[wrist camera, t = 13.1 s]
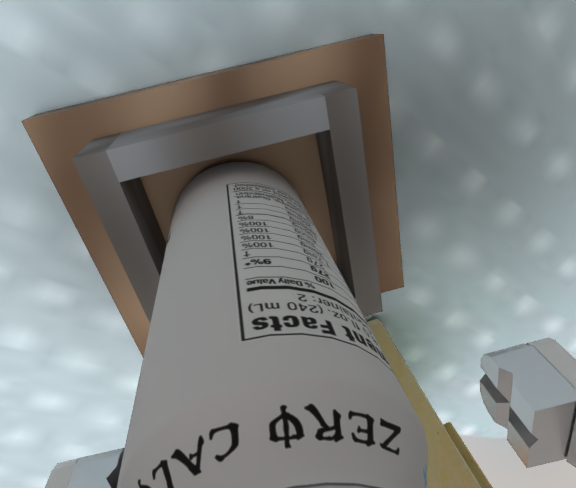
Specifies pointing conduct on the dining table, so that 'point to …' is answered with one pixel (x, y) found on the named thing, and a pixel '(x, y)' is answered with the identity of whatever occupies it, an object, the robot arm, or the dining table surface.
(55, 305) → the dining table surface
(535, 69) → the dining table surface
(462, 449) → the toy refrigerator
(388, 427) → the energy drink can
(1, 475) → the dining table surface
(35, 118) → the jig board
